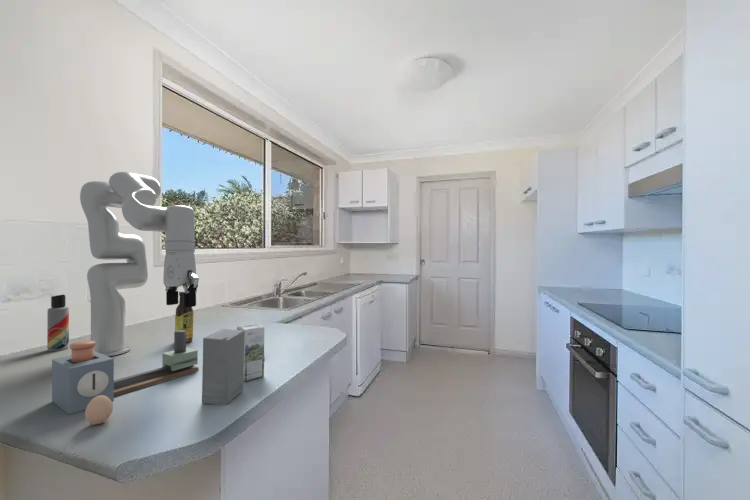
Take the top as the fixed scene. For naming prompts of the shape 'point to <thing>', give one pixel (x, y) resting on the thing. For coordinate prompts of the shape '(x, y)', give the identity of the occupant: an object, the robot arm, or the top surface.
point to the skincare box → (222, 366)
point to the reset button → (82, 351)
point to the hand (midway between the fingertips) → (181, 305)
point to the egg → (99, 409)
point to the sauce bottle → (184, 318)
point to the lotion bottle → (58, 324)
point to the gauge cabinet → (81, 381)
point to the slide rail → (149, 378)
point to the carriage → (180, 353)
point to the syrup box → (253, 351)
